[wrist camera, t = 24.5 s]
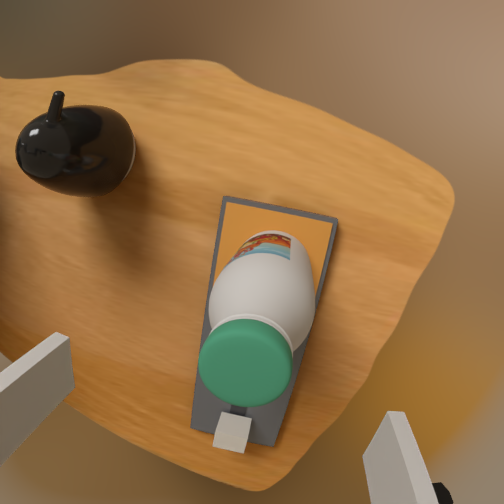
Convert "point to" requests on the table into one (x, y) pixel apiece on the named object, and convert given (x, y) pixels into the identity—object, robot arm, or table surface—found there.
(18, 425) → the robot arm
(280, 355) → the milk bottle
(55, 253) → the table surface
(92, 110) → the pump dispenser
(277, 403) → the board
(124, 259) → the table surface
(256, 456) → the table surface
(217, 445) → the handle
